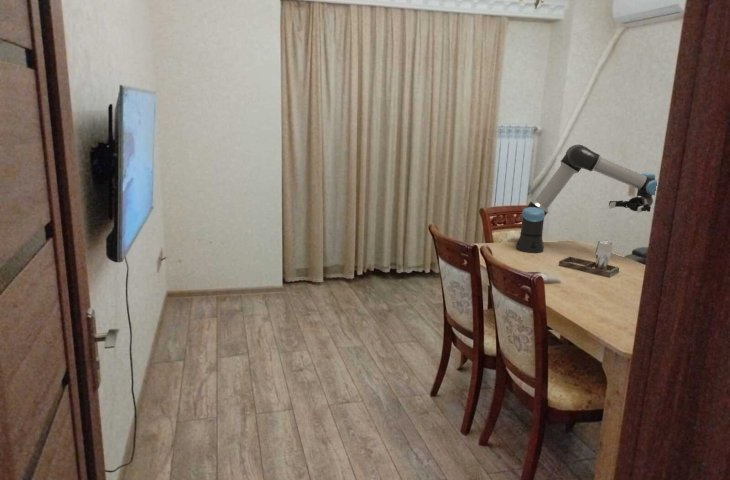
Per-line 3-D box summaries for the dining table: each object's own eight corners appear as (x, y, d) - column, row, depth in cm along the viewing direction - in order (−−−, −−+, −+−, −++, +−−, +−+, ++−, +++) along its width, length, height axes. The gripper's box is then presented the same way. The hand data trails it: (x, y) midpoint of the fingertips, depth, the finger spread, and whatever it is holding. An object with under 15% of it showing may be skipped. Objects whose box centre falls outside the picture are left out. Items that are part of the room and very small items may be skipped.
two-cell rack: (558, 265, 262) (559, 260, 262) (569, 261, 271) (569, 256, 271) (609, 277, 245) (609, 272, 245) (618, 272, 254) (619, 267, 254)
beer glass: (592, 272, 253) (596, 242, 249) (593, 268, 259) (598, 240, 255) (607, 274, 250) (612, 245, 246) (608, 271, 256) (613, 242, 252)
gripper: (661, 214, 269) (649, 219, 254) (612, 206, 286) (598, 211, 271) (664, 200, 267) (651, 204, 252) (614, 193, 284) (600, 197, 269)
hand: (624, 207), depth 261 cm, fingers open, 13 cm apart
